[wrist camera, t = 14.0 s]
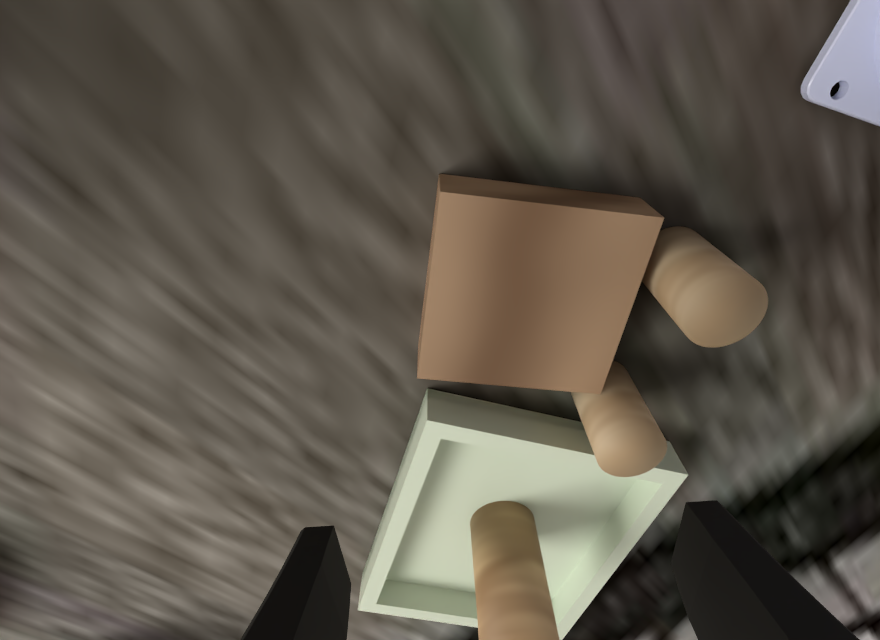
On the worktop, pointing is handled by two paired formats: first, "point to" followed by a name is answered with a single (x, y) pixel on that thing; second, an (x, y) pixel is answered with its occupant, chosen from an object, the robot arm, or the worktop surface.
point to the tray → (504, 479)
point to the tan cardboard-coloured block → (530, 283)
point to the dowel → (510, 575)
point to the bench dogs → (699, 317)
